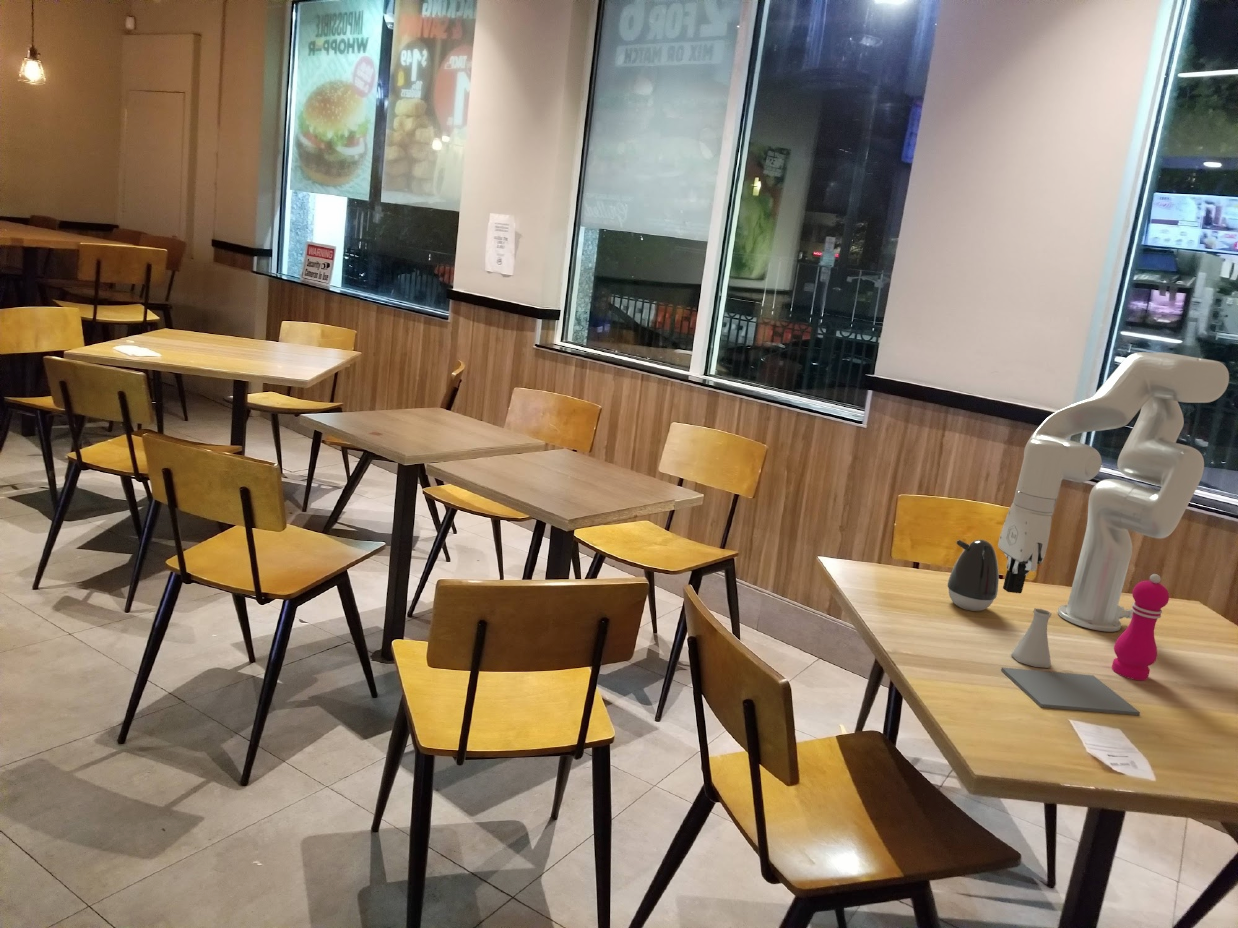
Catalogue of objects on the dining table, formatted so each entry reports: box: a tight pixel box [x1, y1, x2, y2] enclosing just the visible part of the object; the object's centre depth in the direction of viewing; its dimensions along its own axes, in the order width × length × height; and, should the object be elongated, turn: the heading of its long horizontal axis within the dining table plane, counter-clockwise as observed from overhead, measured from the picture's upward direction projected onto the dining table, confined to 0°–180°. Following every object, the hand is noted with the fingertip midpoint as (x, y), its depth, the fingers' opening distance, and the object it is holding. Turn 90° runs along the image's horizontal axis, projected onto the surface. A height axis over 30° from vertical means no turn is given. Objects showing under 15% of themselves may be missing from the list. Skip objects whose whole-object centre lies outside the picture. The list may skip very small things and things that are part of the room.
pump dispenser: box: [947, 539, 1000, 612], centre depth 206 cm, size 10×10×15 cm
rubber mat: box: [1000, 666, 1141, 716], centre depth 169 cm, size 18×14×1 cm
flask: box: [1010, 608, 1052, 669], centre depth 180 cm, size 7×7×10 cm
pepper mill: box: [1111, 573, 1170, 681], centre depth 179 cm, size 7×7×20 cm
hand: (1012, 591), depth 189 cm, fingers closed
